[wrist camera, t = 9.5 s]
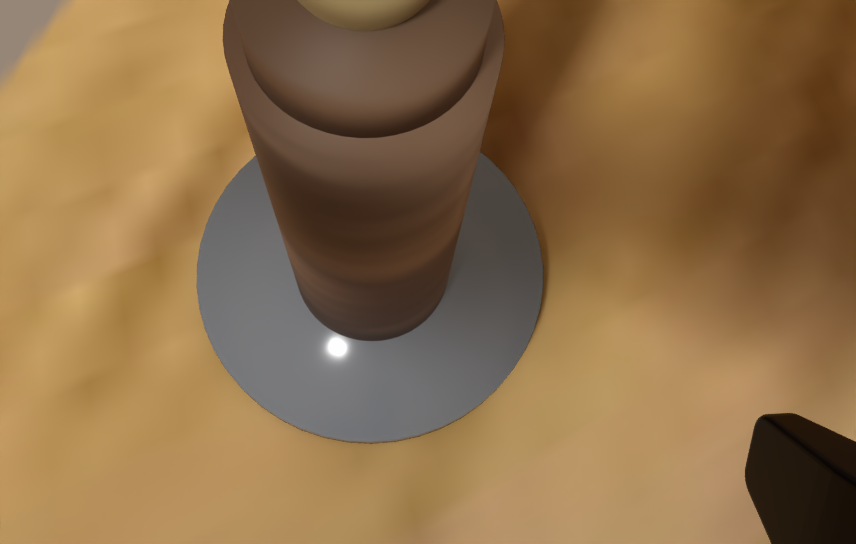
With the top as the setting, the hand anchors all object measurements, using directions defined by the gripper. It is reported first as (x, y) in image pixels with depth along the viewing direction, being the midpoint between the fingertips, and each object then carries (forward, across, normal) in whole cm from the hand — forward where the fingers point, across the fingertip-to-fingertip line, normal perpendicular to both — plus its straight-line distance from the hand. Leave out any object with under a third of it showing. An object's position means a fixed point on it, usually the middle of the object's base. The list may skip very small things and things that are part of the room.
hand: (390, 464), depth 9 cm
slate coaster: (+14, 0, +4) cm, 14 cm away
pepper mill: (+13, 0, +3) cm, 14 cm away
